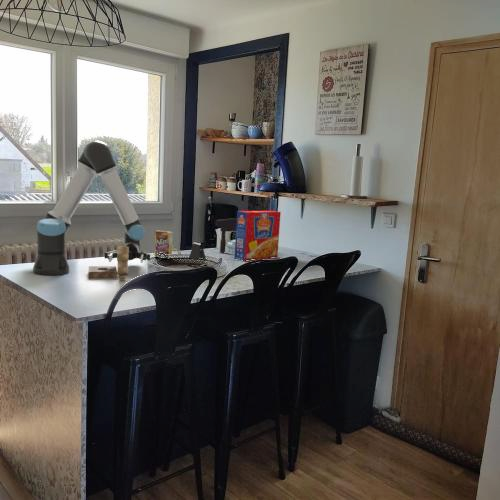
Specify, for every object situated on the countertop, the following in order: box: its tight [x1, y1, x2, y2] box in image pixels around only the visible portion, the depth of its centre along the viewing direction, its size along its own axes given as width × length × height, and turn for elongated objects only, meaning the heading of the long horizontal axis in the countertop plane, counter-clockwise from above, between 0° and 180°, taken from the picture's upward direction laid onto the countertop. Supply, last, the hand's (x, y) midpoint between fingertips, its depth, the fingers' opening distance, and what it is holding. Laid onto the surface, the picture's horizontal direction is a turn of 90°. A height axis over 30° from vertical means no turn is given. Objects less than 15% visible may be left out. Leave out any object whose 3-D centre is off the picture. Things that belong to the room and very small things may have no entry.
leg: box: [116, 245, 129, 282], centre depth 212 cm, size 5×5×15 cm
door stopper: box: [188, 241, 207, 260], centre depth 256 cm, size 9×6×12 cm, turn 136°
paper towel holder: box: [214, 217, 237, 254], centre depth 309 cm, size 16×21×33 cm
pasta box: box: [233, 210, 282, 262], centre depth 287 cm, size 28×8×28 cm, turn 134°
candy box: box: [154, 230, 174, 257], centre depth 269 cm, size 9×4×15 cm, turn 72°
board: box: [88, 265, 118, 279], centre depth 220 cm, size 12×12×3 cm
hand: (125, 259), depth 215 cm, fingers open, 13 cm apart
